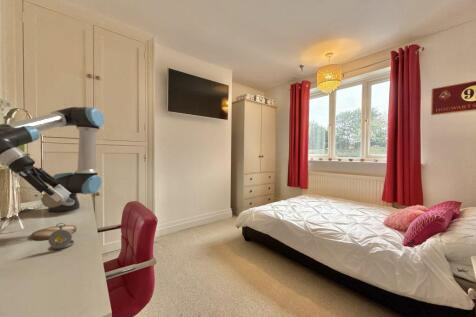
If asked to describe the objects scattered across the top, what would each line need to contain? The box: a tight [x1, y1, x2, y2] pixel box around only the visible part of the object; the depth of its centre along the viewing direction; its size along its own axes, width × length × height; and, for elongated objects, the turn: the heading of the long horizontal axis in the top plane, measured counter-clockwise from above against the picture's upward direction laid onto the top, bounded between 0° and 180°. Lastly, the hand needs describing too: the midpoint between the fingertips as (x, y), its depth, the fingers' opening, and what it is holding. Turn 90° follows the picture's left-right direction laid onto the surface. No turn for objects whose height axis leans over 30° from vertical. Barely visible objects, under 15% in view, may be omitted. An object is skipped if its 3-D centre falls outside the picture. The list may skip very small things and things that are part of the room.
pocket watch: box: [48, 222, 75, 250], centre depth 76 cm, size 8×8×10 cm
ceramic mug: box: [40, 188, 75, 208], centre depth 90 cm, size 11×8×8 cm
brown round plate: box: [30, 224, 78, 241], centre depth 89 cm, size 15×15×1 cm
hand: (64, 197), depth 90 cm, fingers closed on ceramic mug, 8 cm apart
